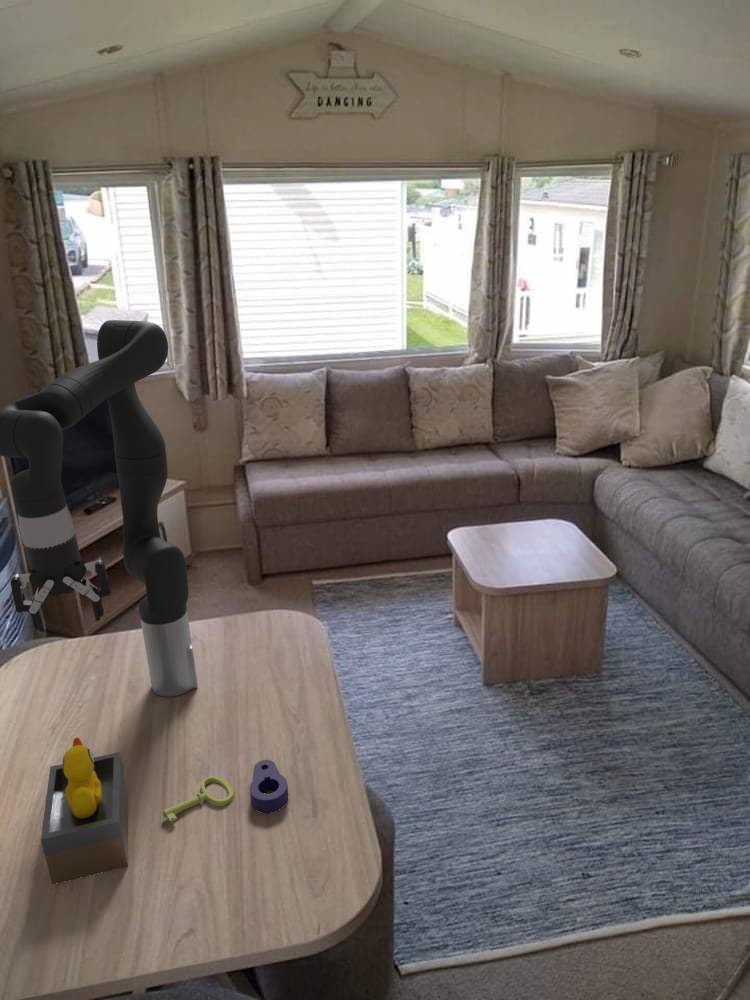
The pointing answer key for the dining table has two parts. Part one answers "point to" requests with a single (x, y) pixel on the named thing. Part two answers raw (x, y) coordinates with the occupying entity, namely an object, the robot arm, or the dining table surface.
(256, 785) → the lever
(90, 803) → the duckling
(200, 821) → the dining table surface
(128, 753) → the dining table surface
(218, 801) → the key
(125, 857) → the gray rectangular tray
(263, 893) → the dining table surface
